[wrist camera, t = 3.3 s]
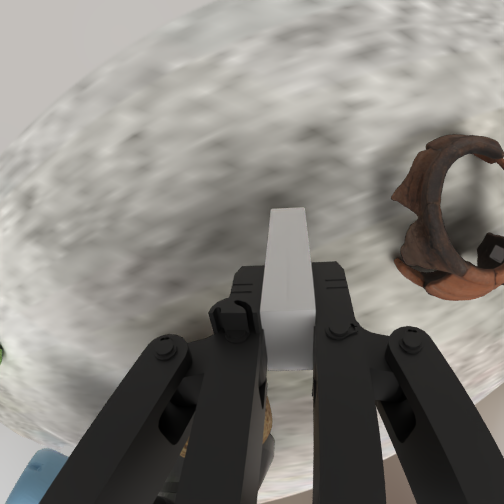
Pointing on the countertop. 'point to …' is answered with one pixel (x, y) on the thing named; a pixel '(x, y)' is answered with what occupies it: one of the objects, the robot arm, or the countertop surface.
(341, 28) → the countertop surface
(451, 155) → the brown curved ring piece
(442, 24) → the countertop surface
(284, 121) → the countertop surface
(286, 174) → the countertop surface
